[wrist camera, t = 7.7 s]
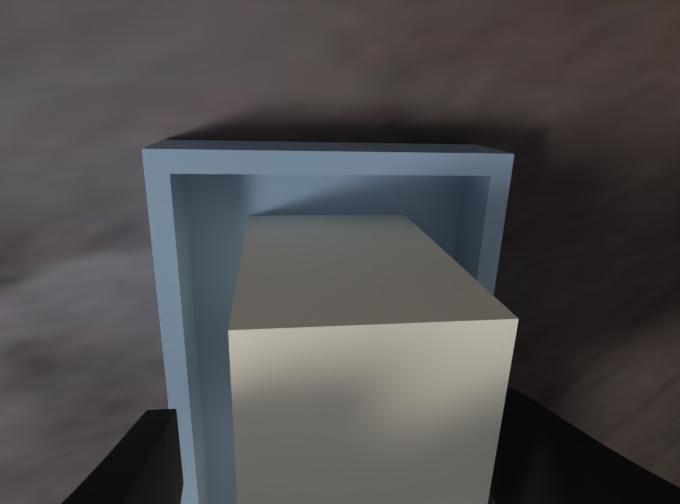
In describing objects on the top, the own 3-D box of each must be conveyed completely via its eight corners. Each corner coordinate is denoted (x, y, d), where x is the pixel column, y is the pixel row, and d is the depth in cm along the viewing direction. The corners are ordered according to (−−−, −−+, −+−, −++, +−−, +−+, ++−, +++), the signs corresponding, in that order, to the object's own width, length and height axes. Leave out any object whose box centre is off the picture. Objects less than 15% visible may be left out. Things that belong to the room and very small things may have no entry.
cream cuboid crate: (259, 567, 15) (252, 839, 10) (246, 215, 12) (224, 330, 6) (380, 554, 16) (439, 803, 10) (406, 214, 12) (521, 318, 7)
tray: (204, 596, 16) (195, 662, 14) (162, 139, 11) (141, 148, 9) (426, 570, 17) (445, 628, 15) (477, 144, 12) (514, 153, 10)
